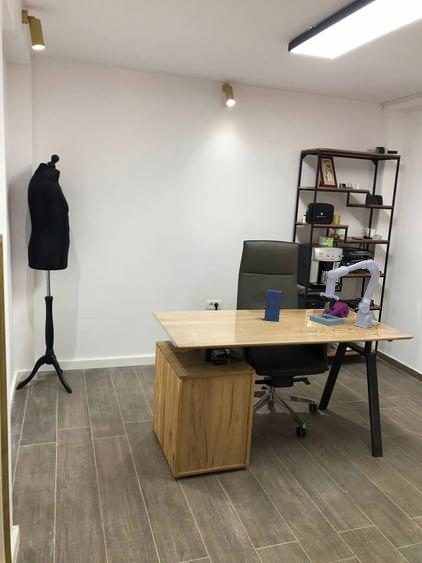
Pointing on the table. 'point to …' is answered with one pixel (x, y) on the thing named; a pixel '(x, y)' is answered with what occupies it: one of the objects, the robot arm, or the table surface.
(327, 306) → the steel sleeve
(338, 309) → the purple faceted block
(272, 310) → the electronic device
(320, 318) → the plate
